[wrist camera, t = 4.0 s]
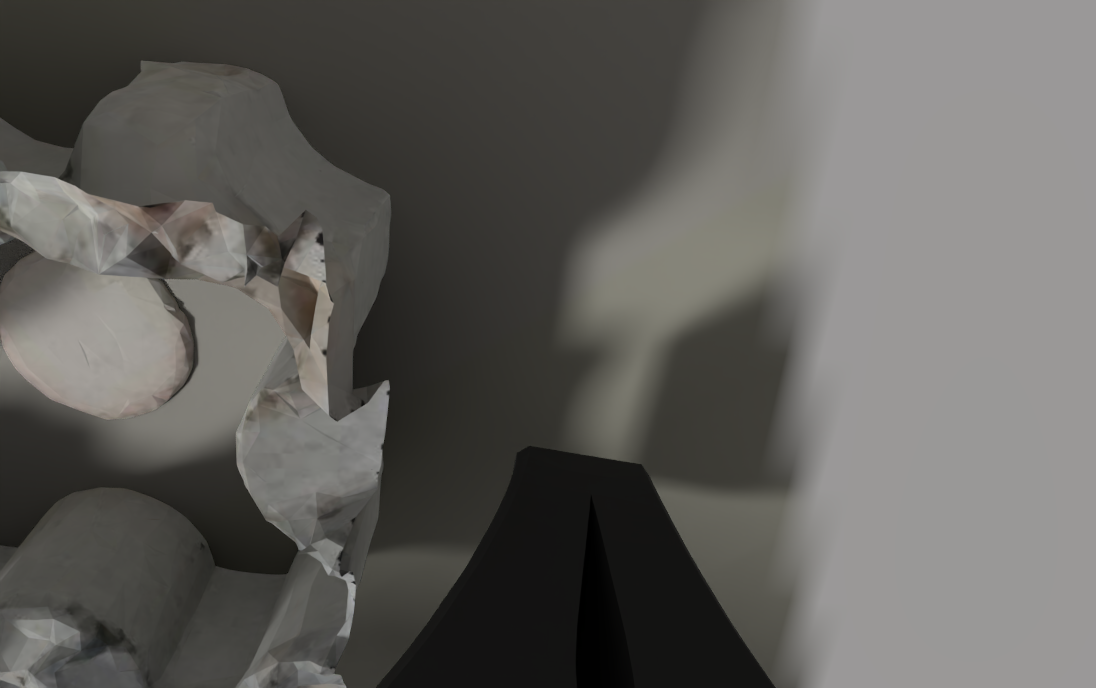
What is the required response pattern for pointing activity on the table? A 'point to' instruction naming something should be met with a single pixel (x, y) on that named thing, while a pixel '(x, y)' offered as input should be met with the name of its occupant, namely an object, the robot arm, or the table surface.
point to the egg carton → (164, 366)
